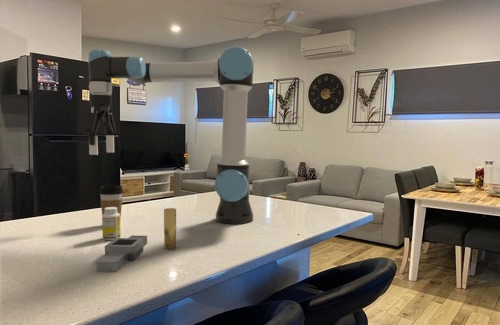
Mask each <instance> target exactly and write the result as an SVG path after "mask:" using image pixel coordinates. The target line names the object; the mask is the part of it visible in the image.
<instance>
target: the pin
mask: <svg viewBox="0 0 500 325" xmlns="http://www.w3.org/2000/svg"><path fill="white" fill-rule="evenodd" d="M163 237H164V240H163V241H164V244H163V248H164V250H165V251H173V250H176V249H177V208H174V207H169V208H163Z"/></svg>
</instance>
